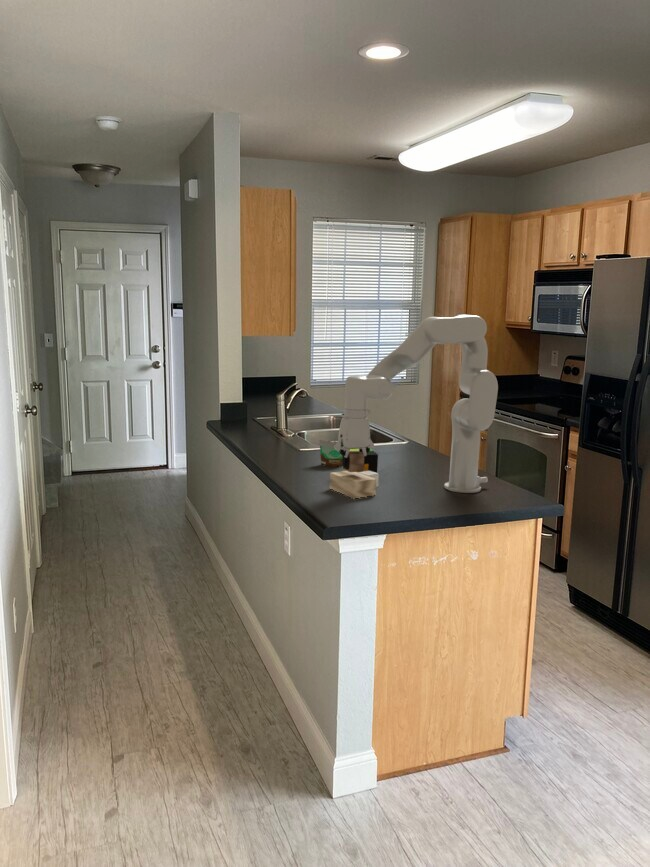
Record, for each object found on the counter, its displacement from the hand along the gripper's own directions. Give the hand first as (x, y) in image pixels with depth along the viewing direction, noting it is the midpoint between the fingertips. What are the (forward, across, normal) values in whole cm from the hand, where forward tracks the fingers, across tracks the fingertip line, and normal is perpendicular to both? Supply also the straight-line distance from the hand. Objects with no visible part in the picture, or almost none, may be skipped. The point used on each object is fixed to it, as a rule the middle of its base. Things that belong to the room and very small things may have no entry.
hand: (353, 467), depth 238 cm
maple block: (+9, 0, 0) cm, 9 cm away
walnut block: (+1, 0, 0) cm, 1 cm away
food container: (+9, -13, -37) cm, 40 cm away
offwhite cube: (+9, -9, -5) cm, 13 cm away
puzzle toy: (+9, -12, -16) cm, 22 cm away
